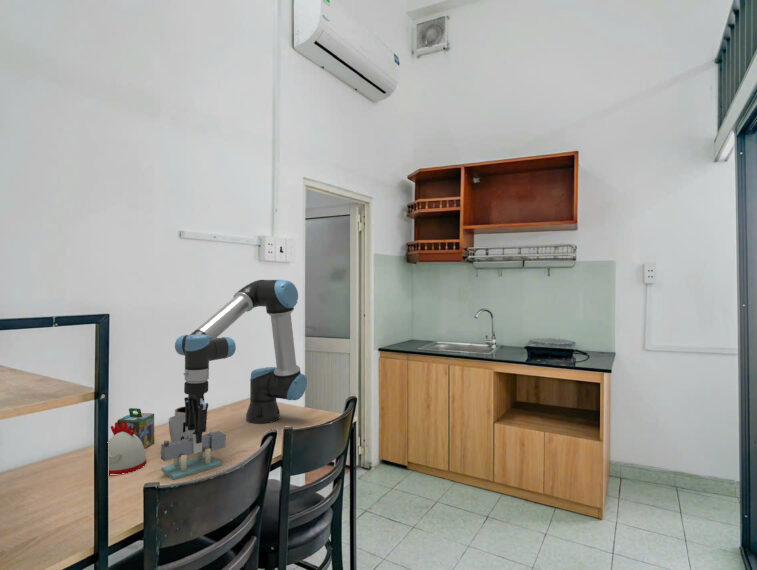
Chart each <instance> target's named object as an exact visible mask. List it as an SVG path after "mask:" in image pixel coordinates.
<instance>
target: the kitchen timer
mask: <svg viewBox="0 0 757 570" xmlns="http://www.w3.org/2000/svg"><path fill="white" fill-rule="evenodd" d="M131 427H132V425H131V426H129V428H128V425H127V422H125V424H124V427H123V422H121V423H120V427H119V426H118V423H117V421H116V422H114V426H113V425H110V430H111V431H112V432H111V433H112V434H113V436H111V438H110V439H108V441H109V475H108V476H111V475H110V474H122V473H127V474H129V473H128V472H131V473H134V472H137V471H139V470H141V469H142V468H144V467H145V466H146V465H145V464H147V454H146V450H145V448H144V447H143V444H142V442H141V440H140V439H139V438H138V437H137V436H136V435H135V434H134V433H135V430H136V429H134V430H133V431H132V432H131ZM143 466H144V467H143ZM138 469H139V470H138ZM136 470H137V471H136ZM133 471H134V472H133ZM122 475H123V474H122Z"/></svg>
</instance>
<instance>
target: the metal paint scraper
mask: <svg viewBox="0 0 757 570" xmlns="http://www.w3.org/2000/svg"><path fill="white" fill-rule="evenodd" d="M226 437H227V434H226V433H223V432H222V431H220V430H219V431H214V432H208V433H205V434H204V435H203V434H202V452H203V453H205V449H206V448H210V449H211V452H212V451H217V450H221V449H224V448H226V441H227V440H226ZM160 446H161V447H160V448H161V449H160V450H161V451H160V459H161V460H162V461H163V462H167V461H171V460H174V459H176V458H180V459H181V455H184V454H186V455H187V457H188V456H191V455H195V454H198V453H200V452H198V453H193V438H189V439H185V440H180V441H176V442H172V441H171V442H170V441H169V440H164V442H163V443H162V444H161V445H160Z"/></svg>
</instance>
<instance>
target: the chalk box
mask: <svg viewBox="0 0 757 570" xmlns="http://www.w3.org/2000/svg"><path fill="white" fill-rule="evenodd" d="M128 411H129V414H127V415H125V416H122V417H121V418H118V419H117V421H116V422H117V423H118V426H119V427H120V423H121V422H123V427H124V424H125V422H127V425H128V428H129V426H131V425H132V427H131V432H132V431H133V430H134V429H136V430H135V433H134V434H135V435H136V436H137V437H138V438H139V439H140V440H141V442H142V444H143V447H144V449H146V448H148V447H149V446H151V445H153V444H155V413H149V412H148V413H146V412H144V413H142V410H141V408H135V407H129V408H128Z"/></svg>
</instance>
